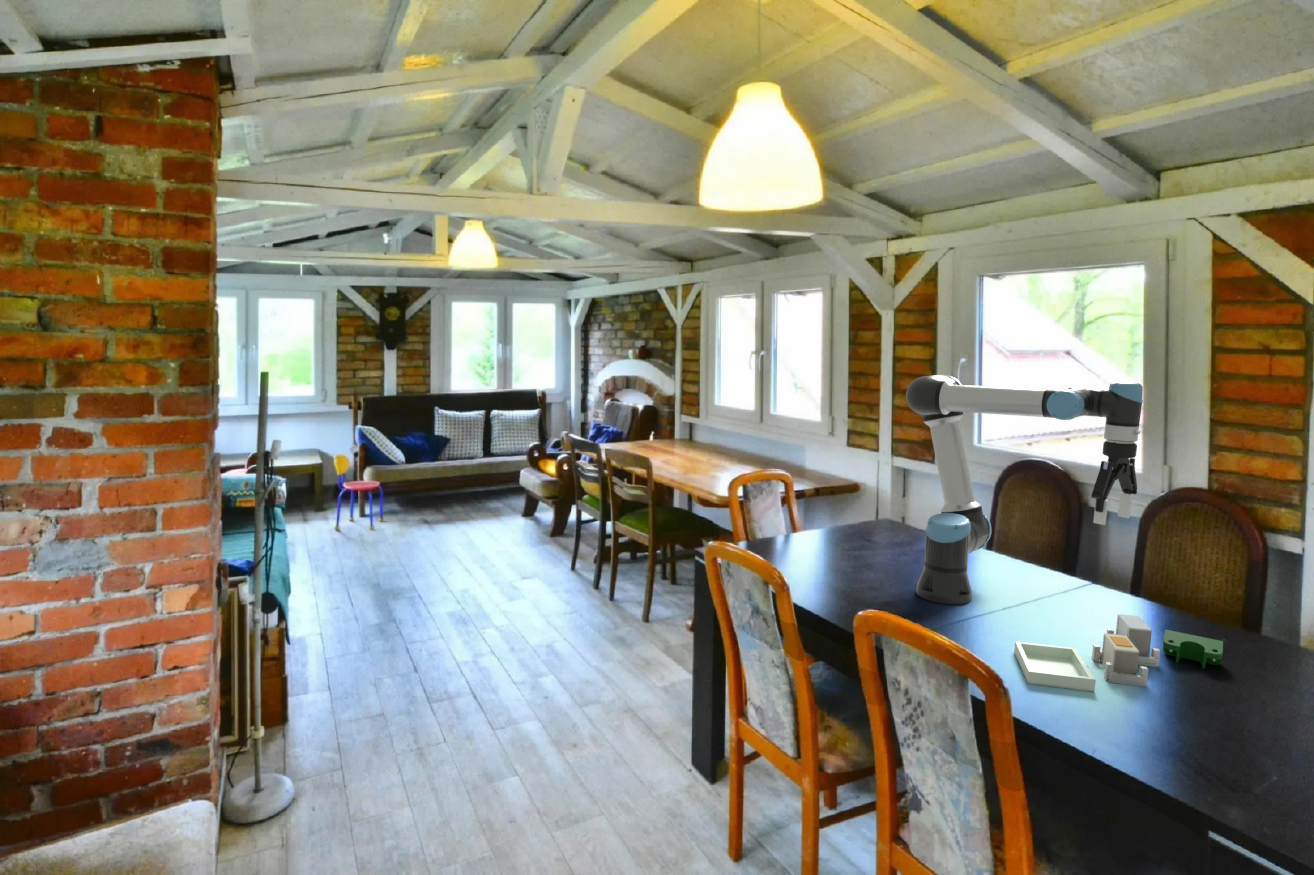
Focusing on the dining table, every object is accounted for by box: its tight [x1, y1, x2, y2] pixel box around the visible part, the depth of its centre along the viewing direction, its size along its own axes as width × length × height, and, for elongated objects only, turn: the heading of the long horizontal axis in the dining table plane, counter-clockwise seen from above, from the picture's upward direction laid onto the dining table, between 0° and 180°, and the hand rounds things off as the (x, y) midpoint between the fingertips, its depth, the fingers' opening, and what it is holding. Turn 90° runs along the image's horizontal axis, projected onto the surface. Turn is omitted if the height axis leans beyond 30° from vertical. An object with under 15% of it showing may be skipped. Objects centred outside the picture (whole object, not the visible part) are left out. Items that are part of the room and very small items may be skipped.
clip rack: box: [1091, 628, 1161, 688], centre depth 175 cm, size 14×26×4 cm, turn 164°
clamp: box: [1162, 629, 1224, 670], centre depth 175 cm, size 12×6×9 cm, turn 46°
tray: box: [1013, 640, 1096, 693], centre depth 170 cm, size 13×17×3 cm
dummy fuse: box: [1115, 613, 1153, 656], centre depth 179 cm, size 5×9×8 cm, turn 164°
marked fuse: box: [1100, 632, 1139, 675], centre depth 170 cm, size 5×9×7 cm, turn 164°
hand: (1111, 520), depth 199 cm, fingers open, 13 cm apart
